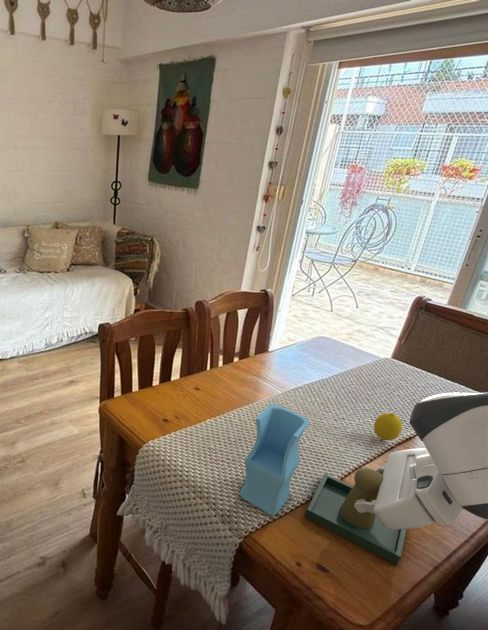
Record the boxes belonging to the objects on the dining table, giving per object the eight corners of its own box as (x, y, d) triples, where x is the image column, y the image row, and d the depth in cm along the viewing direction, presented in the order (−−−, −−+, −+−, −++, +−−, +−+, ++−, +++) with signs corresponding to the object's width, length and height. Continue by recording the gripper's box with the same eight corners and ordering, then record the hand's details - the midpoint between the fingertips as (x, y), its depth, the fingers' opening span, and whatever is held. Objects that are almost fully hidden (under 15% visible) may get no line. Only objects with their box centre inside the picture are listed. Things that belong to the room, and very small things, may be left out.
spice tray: (406, 519, 89) (410, 512, 88) (397, 565, 79) (400, 557, 78) (322, 480, 98) (324, 473, 97) (304, 516, 89) (307, 509, 88)
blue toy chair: (237, 495, 93) (255, 418, 85) (253, 476, 98) (271, 402, 91) (274, 517, 88) (297, 437, 80) (289, 496, 93) (312, 419, 85)
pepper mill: (332, 508, 90) (347, 466, 86) (354, 501, 92) (370, 460, 88) (358, 532, 85) (376, 489, 80) (381, 524, 87) (399, 482, 82)
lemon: (365, 435, 113) (374, 409, 110) (380, 430, 115) (389, 405, 112) (385, 449, 108) (396, 422, 105) (401, 444, 110) (411, 418, 107)
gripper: (433, 434, 84) (360, 450, 94) (425, 497, 70) (340, 509, 80) (454, 462, 84) (379, 476, 93) (450, 532, 69) (361, 540, 79)
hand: (361, 492), depth 87 cm, fingers open, 8 cm apart
